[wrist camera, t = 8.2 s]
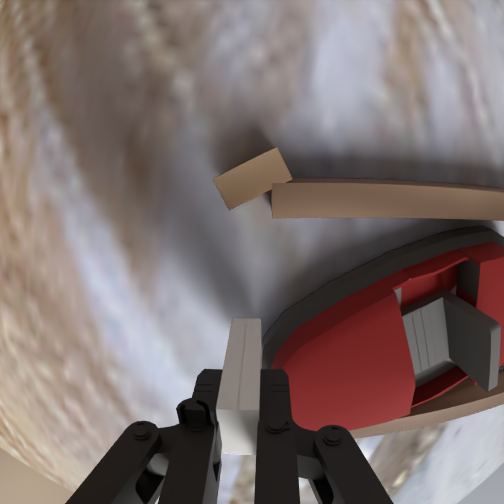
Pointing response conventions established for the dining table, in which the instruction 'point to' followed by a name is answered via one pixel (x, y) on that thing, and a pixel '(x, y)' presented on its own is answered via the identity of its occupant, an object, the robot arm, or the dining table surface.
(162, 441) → the robot arm
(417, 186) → the cradle
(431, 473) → the dining table surface
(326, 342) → the bumper car
